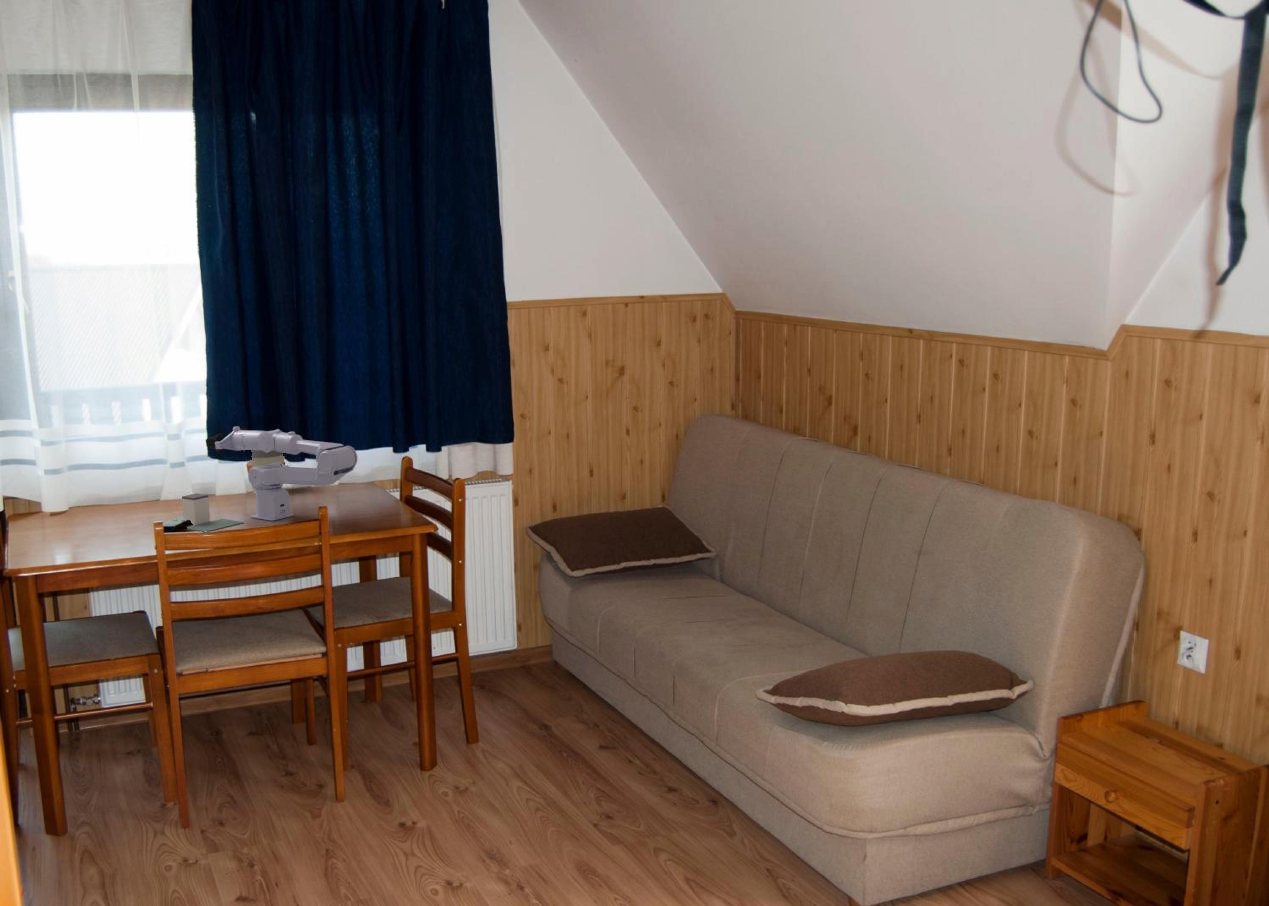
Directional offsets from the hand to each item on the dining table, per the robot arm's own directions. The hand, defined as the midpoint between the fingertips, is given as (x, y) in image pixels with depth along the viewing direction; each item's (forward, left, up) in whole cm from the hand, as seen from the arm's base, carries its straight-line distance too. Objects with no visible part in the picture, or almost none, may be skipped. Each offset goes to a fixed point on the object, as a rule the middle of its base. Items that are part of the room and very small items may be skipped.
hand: (217, 439), depth 344 cm
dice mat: (-15, +15, -21) cm, 30 cm away
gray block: (-8, +15, -22) cm, 27 cm away
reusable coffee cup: (+10, -26, -22) cm, 35 cm away
